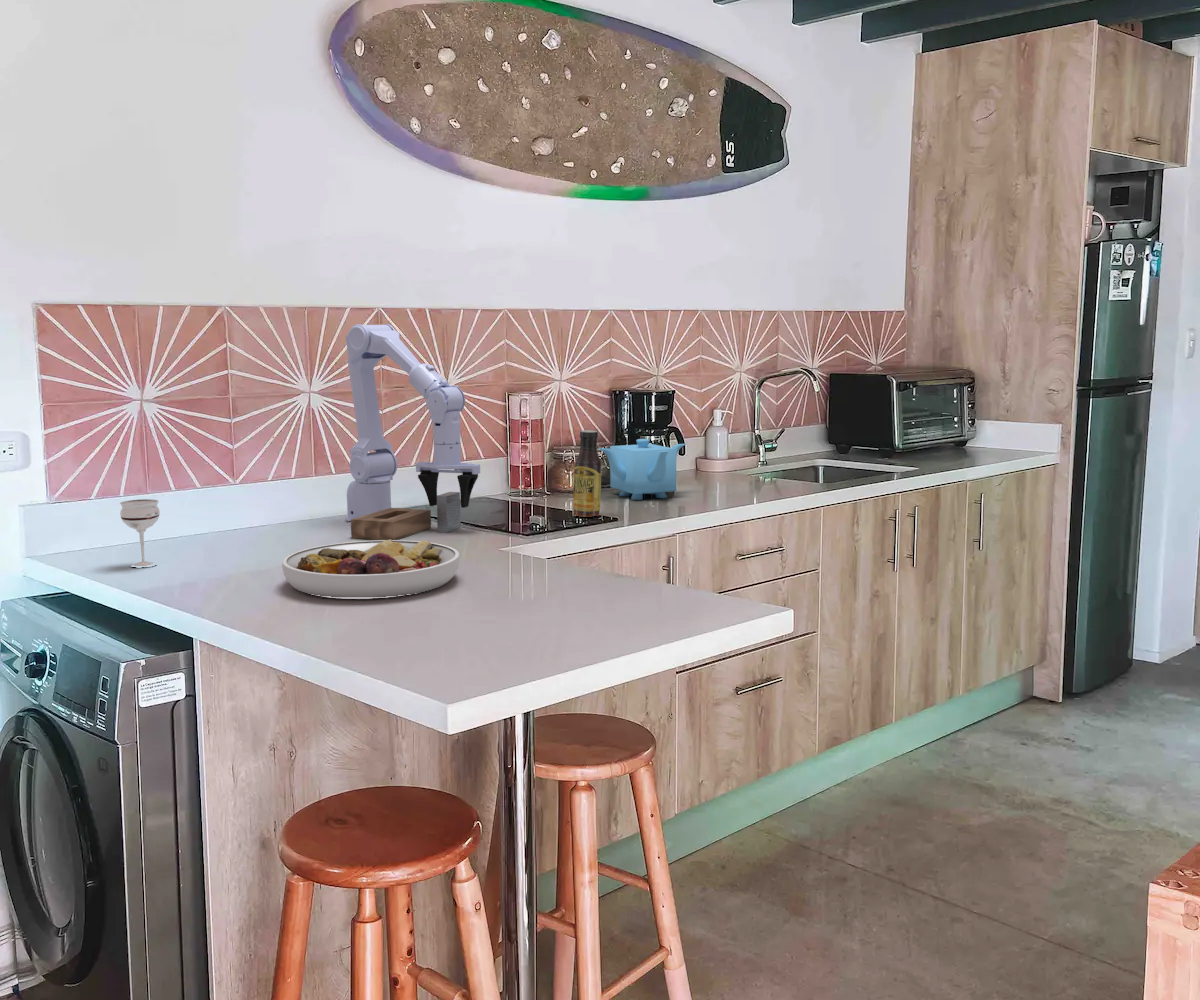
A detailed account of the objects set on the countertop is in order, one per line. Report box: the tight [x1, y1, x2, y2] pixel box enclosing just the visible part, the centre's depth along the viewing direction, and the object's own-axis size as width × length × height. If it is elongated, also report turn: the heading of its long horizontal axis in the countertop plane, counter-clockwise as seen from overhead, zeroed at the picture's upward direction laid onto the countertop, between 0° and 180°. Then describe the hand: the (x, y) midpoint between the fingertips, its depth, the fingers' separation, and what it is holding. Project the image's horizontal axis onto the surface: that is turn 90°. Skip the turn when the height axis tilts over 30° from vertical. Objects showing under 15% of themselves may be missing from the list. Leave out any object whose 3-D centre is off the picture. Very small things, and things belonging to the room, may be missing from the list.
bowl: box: [281, 539, 460, 597], centre depth 200 cm, size 30×30×8 cm
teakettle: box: [598, 438, 687, 501], centre depth 295 cm, size 19×19×15 cm
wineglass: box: [119, 498, 161, 566], centre depth 214 cm, size 7×7×12 cm
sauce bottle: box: [572, 429, 602, 518], centre depth 264 cm, size 7×6×20 cm
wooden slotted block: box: [350, 507, 432, 541], centre depth 246 cm, size 10×16×4 cm, turn 160°
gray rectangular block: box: [436, 491, 462, 534], centre depth 249 cm, size 2×6×8 cm, turn 160°
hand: (448, 506), depth 248 cm, fingers open, 7 cm apart
